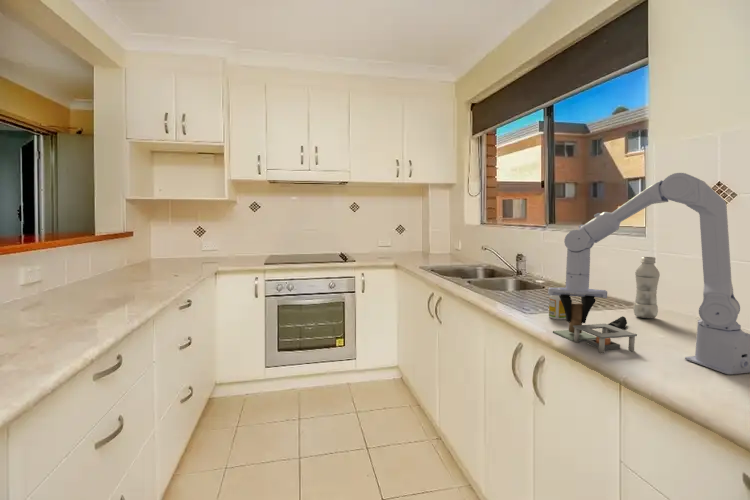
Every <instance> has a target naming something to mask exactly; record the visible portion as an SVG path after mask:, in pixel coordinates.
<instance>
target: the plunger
mask: <svg viewBox="0 0 750 500" xmlns="http://www.w3.org/2000/svg"><path fill="white" fill-rule="evenodd" d="M595 337H596V343H599V337H597V336H595ZM611 339H612V338H605V345H610V342H611V341H612V340H611Z"/></svg>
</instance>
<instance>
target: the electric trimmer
mask: <svg viewBox="0 0 750 500" xmlns="http://www.w3.org/2000/svg"><path fill="white" fill-rule="evenodd" d="M607 324H608V325H611V326H614V327H617V328H620V329H623V330H625V329H626V326H627V324H628V321H627V318H626V317H625V316H620V317H618V318H617V319H615V320H613V321H611V322H610V323H607ZM607 333H615V332H614V331H611V330H608V329H607Z"/></svg>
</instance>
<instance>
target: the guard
mask: <svg viewBox="0 0 750 500" xmlns="http://www.w3.org/2000/svg"><path fill="white" fill-rule="evenodd" d="M608 324H609V323H594V324H582V325H576V326H573V327H574V328H575V330H574V341H573V342H574V343H580V340H579V333H580V330H581V331H583V332H585V333H588V334H590V335H593V336H595V337H596V336H597V337H599V343H596V339H588V340H586V344H587V345H590V346H592V347H594V348H597V349H598V354H603V355H604V354H605V351H606V350H619V349H621V344H619V343H617V342H614V341H612V340H611V342H610V345H605V338H611V339H615V338H628V349H627V350H628V351H629V352H635V344H636V342H635V341H636V337H637V336H638V334H636V333H634V332H631V331H628V330H626V329H620V328H617V327H614V326H611V325H608ZM596 329H599V330H600V329H601V332H600V331H598V330H596ZM607 329H608V330H611V331H614V332H615V333H607Z"/></svg>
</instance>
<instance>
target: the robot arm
mask: <svg viewBox="0 0 750 500" xmlns="http://www.w3.org/2000/svg"><path fill="white" fill-rule="evenodd" d="M669 201H671V202H675V203H678V204H683V205H685V206H686V207H688V208H690V209H692V210H693V211H695V212H697V213H698V215H699V227H700V240H701V241H700V243H701V256H702V258H701V259H702V273H703V291H702V297H703V298H702V299H703V300H702V303H701V304H700V306H699V307H698V316H699V317H700V319H698V320H697V325H696V337H695V338H696V339H695V340H696V341H695V353H694V354H695V355H692V356H691V355H690V356H684V360H687V361H690V362H693V363H695V364H698V365H700V366H702V367H706V368H708V369H711V370H715V371H716V372H719V373H723V374H725V375H737V374H747V373H750V333H748V332H745V331H744V330H742V329H741V328H742V326H741V324H740V323H738V321H737V320H738V317H739V314H740V311H741V305H740V303H739V301H738V300H737V298H736V297H735V295H734V294H735V293H734V287H733V282H732V268H731V267H732V266H731V252H730V251H731V250H730V236H729V234H730V233H729V224H728V223H729V221H728V208H727V207H728V206H727V203H726V200H725V199H724V198H722V196H721V195H719V193H717V192H716V191H715V190H714V189H713V188H712V187H711V186H709V185H708V184H707V183H706V182H705V181H704V180H701V179H700V178H699V177H695V176H693V175H691V174H688V173H686V172H675V173H672V174H670V175H668V176H666V177H665V178H664V179H663V180H659V181H657V182H655V183H653V184H651V185H650V186H649V187H647V188H645V189H644V190H643V191H641V192H640V193H638V194H637V195H635V196H633V197H632V198H631V199H629V200H628V201H627V202H624V203H623V204H622V205H621V206H619V207H618V208H617V209H615V210H613V211H612V212H610V211H609V212H608V211H603V212H601V213H600V212H597V213H595V214H594V215H593V217H594V218H592V219H591V220H589V221H587V222H586V223H584V224H580V225H578V229H573V230H572V229H571V230H570V231H569V232H568V233H567V234H566V235H565V237H564V246H565V247H566V249H567V250H566V252H567V254H566V268H565V269H566V271H565V287H548V288H547V295H548V296H549V297H550V296H553V295H559V297H560V299H561V302H562V304H563V307H564V310H565V314H566V319H565V321H566V322H567V323H569V322H571V303H572V302H573V300H572V299H571V297H580V299H581V302H580V303H582V304H583V315H582V324H586V321H587V318H588V316H589V313H590V311H591V309H592V307H593V306H594V305H595V303H596V298H601V299H608V291H607V290H606V289H596V288H595V289H594V288H590V269H591V268H590V267H591V249H592V248H593V246H594V245H595V244H596V243H599V242H601V241H602V240H603V239H606V238H607V237H608V236H610V235H612V234H613V233H615V232H617V231H618V230H619V229H620V225H621V223H622V222H623V221H625V220H627V219H629V218H630V217H632V216H634V215H635V214H637V213H639V212H640V211H642V210H644V209H647V207H649V206H651V205H655V204H661V203H668V202H669Z"/></svg>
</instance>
